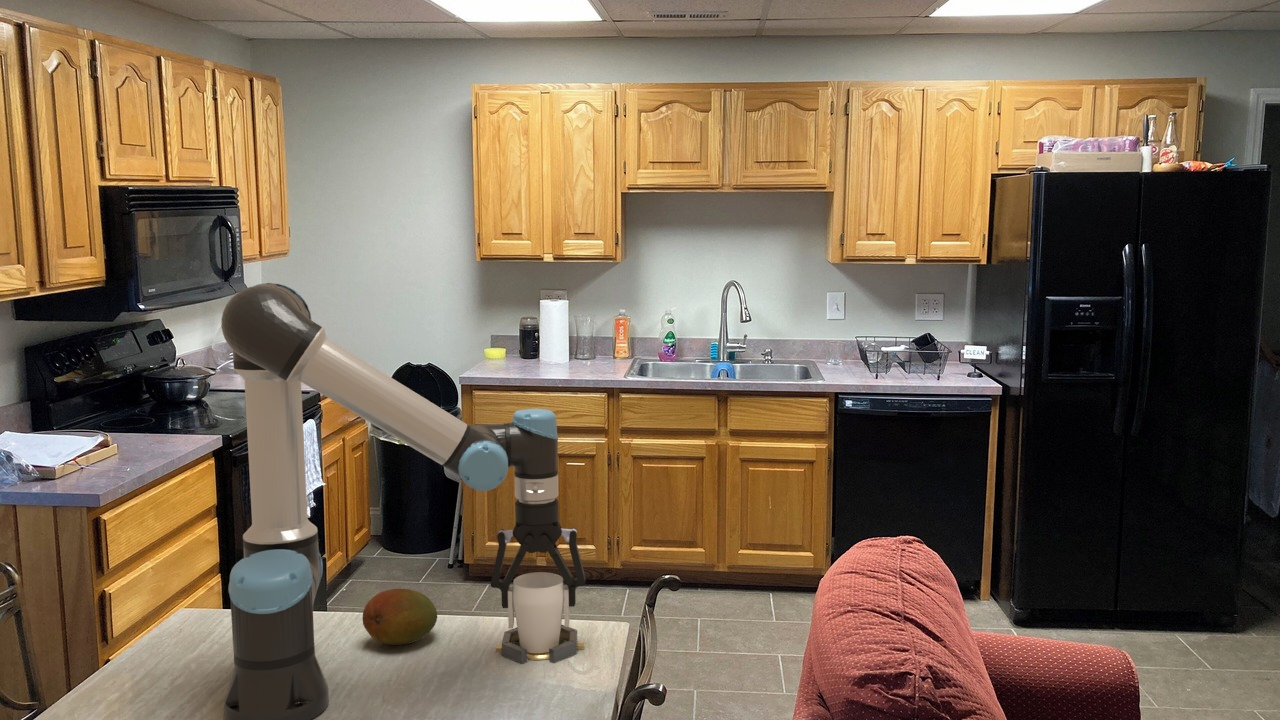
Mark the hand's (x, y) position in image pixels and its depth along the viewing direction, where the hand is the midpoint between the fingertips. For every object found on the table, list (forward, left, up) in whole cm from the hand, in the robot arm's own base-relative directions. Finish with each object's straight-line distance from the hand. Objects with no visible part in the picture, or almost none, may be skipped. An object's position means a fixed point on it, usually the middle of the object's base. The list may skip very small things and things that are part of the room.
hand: (539, 624), depth 177 cm
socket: (0, 0, -4) cm, 4 cm away
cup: (0, 0, -4) cm, 4 cm away
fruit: (-25, +5, -5) cm, 26 cm away
